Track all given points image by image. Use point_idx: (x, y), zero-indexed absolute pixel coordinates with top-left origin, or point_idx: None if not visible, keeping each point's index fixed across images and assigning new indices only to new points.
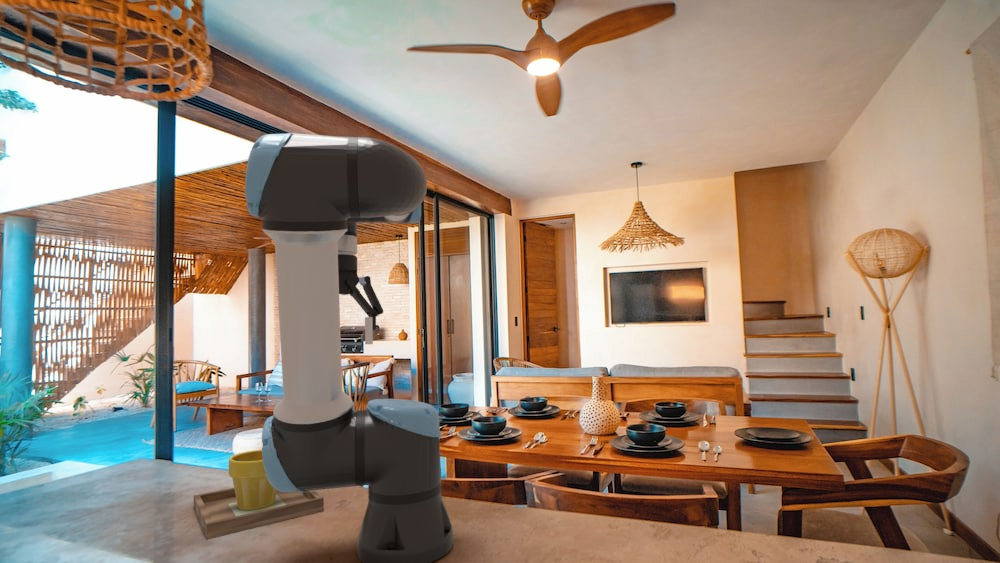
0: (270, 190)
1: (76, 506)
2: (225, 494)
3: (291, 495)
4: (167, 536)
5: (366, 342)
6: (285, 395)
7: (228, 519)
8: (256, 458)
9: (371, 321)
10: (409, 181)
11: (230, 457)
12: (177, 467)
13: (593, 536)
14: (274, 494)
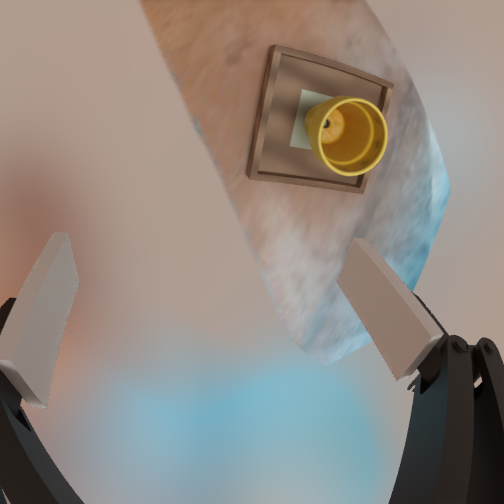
0: None
1: (395, 271)
2: (335, 182)
3: (278, 123)
4: (399, 123)
5: (74, 275)
6: None
7: (377, 77)
8: (336, 166)
9: (9, 330)
10: None
11: (381, 156)
12: (298, 339)
13: None
14: (316, 106)
